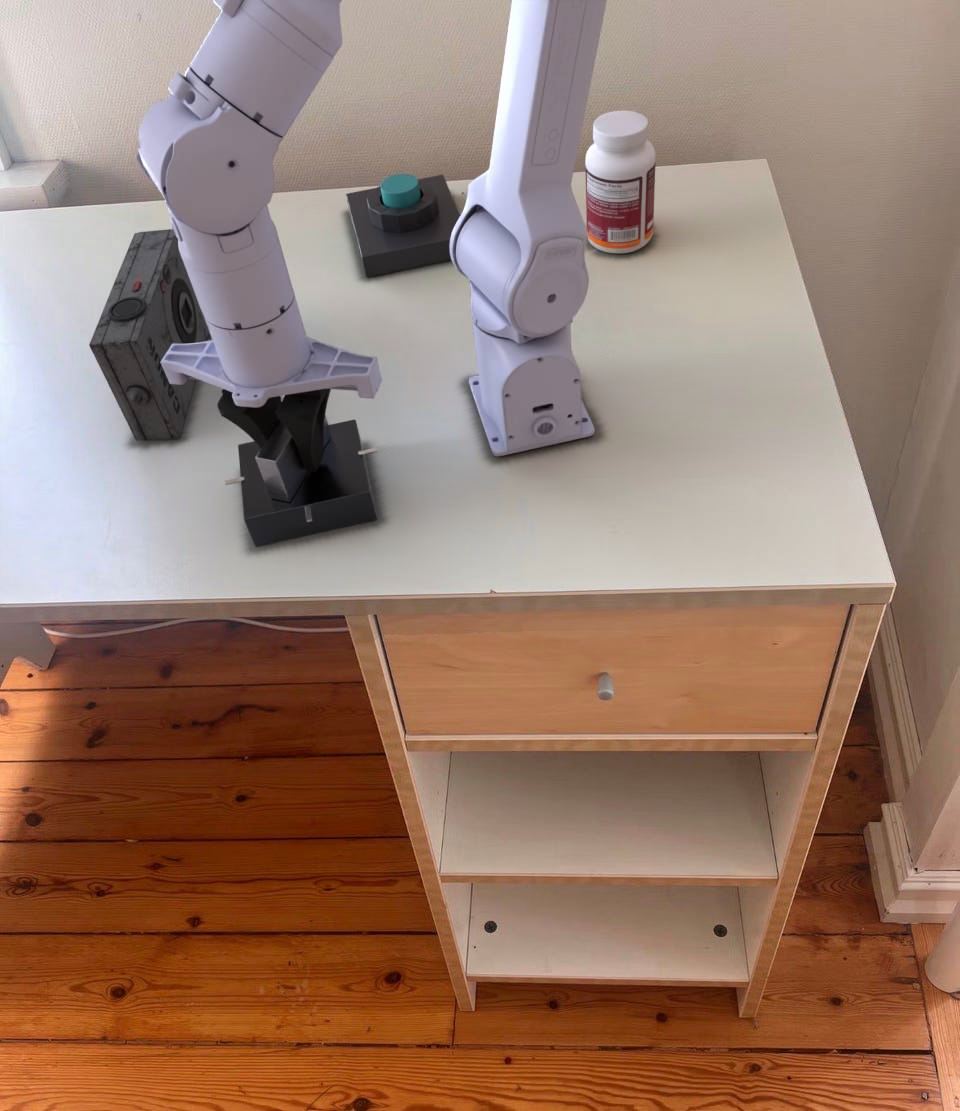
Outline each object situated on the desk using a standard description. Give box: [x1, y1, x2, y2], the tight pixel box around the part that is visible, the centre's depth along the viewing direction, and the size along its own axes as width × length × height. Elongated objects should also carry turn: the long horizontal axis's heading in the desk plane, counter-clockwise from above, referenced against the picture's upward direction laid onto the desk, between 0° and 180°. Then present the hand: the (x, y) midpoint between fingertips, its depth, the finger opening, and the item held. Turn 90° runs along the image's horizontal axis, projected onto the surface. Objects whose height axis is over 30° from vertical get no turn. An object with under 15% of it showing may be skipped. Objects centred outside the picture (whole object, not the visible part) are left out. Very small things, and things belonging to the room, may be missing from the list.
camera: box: [89, 228, 210, 442], centre depth 79 cm, size 16×4×10 cm, turn 0°
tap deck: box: [224, 419, 378, 548], centre depth 71 cm, size 11×11×3 cm
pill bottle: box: [584, 109, 657, 254], centre depth 87 cm, size 6×6×11 cm
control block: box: [345, 174, 461, 278], centre depth 93 cm, size 12×10×4 cm
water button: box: [379, 173, 421, 209], centre depth 92 cm, size 4×4×2 cm
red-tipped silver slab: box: [255, 414, 331, 502], centre depth 69 cm, size 7×2×4 cm, turn 160°
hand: (300, 460), depth 70 cm, fingers closed on red-tipped silver slab, 2 cm apart
